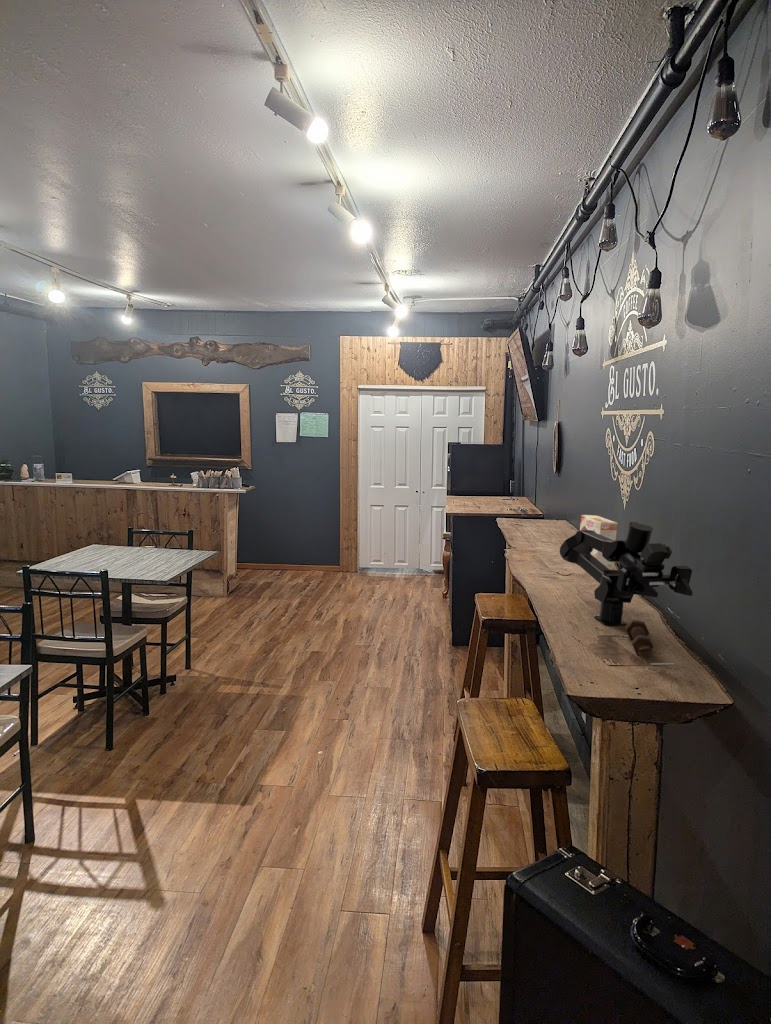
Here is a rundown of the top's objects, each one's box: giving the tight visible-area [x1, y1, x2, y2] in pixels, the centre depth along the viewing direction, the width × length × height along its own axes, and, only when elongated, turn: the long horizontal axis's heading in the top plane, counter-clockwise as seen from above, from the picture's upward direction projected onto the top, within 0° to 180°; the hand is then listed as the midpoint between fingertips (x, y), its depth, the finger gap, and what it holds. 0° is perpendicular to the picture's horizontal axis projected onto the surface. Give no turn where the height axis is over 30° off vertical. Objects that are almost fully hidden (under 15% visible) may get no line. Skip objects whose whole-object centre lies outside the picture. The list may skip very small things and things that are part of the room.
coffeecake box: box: [579, 514, 619, 570], centre depth 235 cm, size 15×7×20 cm, turn 10°
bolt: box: [625, 620, 654, 659], centre depth 156 cm, size 6×5×15 cm
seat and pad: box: [578, 634, 676, 666], centre depth 155 cm, size 19×17×1 cm
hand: (674, 594), depth 149 cm, fingers open, 9 cm apart
